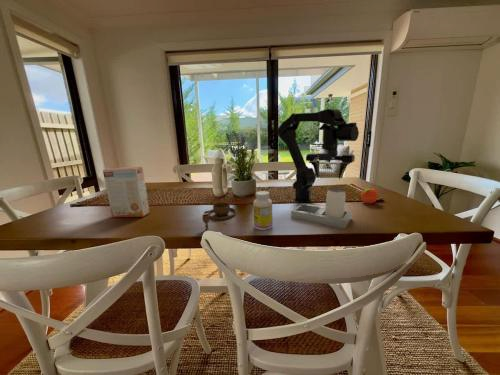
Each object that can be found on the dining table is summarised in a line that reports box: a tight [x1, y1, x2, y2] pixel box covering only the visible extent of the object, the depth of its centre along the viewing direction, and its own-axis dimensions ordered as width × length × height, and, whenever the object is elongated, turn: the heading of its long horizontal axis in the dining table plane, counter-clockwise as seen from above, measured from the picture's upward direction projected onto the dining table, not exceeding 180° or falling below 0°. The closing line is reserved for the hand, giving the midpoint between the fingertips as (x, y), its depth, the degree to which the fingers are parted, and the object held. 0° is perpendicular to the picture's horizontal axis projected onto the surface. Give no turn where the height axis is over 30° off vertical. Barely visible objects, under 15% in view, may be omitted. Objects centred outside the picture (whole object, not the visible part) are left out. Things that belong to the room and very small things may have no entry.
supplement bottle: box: [252, 190, 273, 231], centre depth 77 cm, size 7×7×13 cm
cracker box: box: [102, 166, 150, 218], centre depth 93 cm, size 14×6×21 cm, turn 86°
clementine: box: [360, 188, 379, 205], centre depth 98 cm, size 8×7×7 cm
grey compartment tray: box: [290, 202, 353, 230], centre depth 84 cm, size 20×10×3 cm, turn 55°
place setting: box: [201, 202, 237, 231], centre depth 89 cm, size 18×20×6 cm
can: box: [325, 187, 347, 219], centre depth 80 cm, size 6×6×12 cm
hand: (328, 177), depth 94 cm, fingers open, 9 cm apart
